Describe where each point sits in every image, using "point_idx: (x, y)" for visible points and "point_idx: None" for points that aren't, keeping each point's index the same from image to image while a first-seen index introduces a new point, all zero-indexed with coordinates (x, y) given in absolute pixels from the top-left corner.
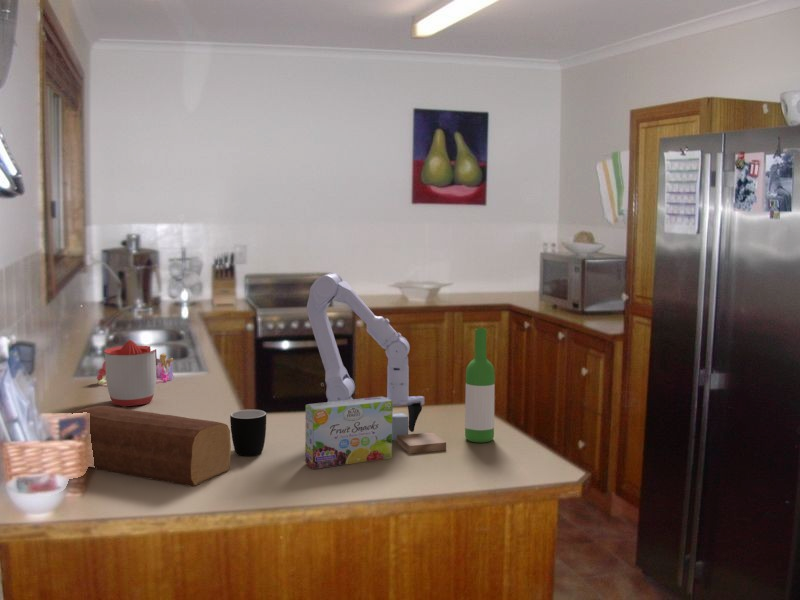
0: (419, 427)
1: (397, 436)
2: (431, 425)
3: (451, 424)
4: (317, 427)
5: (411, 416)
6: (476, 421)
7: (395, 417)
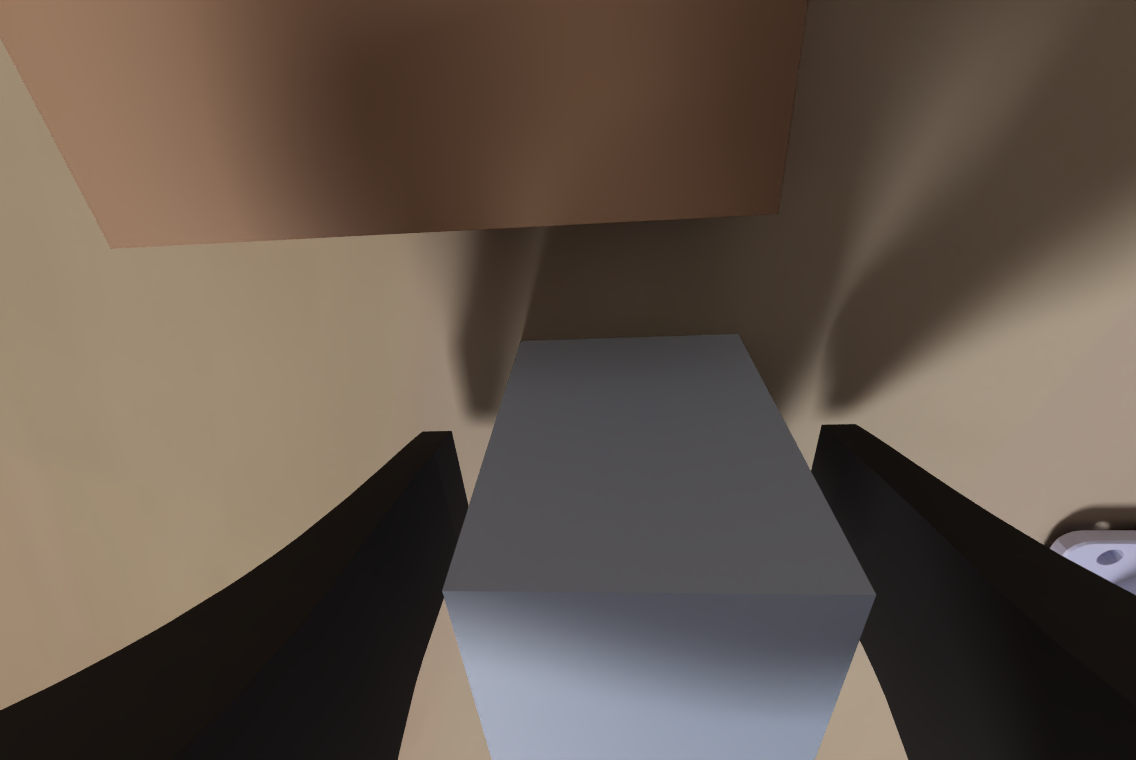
0: None
1: (782, 168)
2: None
3: (62, 622)
4: None
5: (363, 649)
6: None
7: (762, 636)
